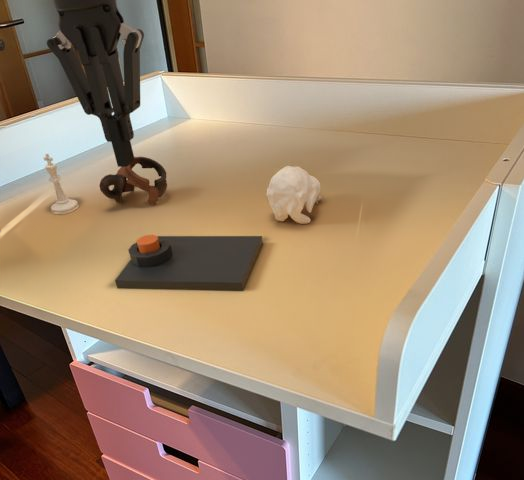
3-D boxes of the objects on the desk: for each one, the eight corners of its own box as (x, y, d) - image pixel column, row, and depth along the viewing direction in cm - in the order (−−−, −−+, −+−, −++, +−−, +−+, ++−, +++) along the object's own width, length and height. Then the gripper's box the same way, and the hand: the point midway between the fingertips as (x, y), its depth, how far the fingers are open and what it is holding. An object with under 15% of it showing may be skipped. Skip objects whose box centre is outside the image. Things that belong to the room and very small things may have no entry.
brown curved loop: (143, 186, 108) (154, 150, 103) (168, 219, 105) (181, 183, 100) (86, 192, 101) (94, 153, 95) (111, 228, 98) (121, 189, 92)
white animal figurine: (261, 171, 83) (294, 151, 91) (265, 227, 87) (296, 202, 96) (301, 174, 80) (331, 153, 89) (302, 231, 85) (331, 205, 94)
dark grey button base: (117, 288, 78) (111, 270, 76) (150, 244, 88) (146, 226, 86) (242, 291, 74) (239, 271, 72) (263, 244, 84) (260, 225, 82)
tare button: (136, 254, 80) (133, 244, 79) (143, 244, 82) (141, 234, 81) (155, 254, 79) (153, 244, 78) (163, 244, 81) (160, 234, 80)
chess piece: (65, 216, 100) (46, 160, 94) (45, 212, 102) (25, 158, 96) (84, 204, 103) (67, 150, 97) (65, 201, 106) (47, 148, 99)
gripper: (139, -40, 69) (176, 153, 83) (46, -30, 72) (97, 154, 86) (112, -34, 63) (158, 172, 77) (12, -23, 66) (74, 173, 81)
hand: (126, 163), depth 82 cm, fingers closed
